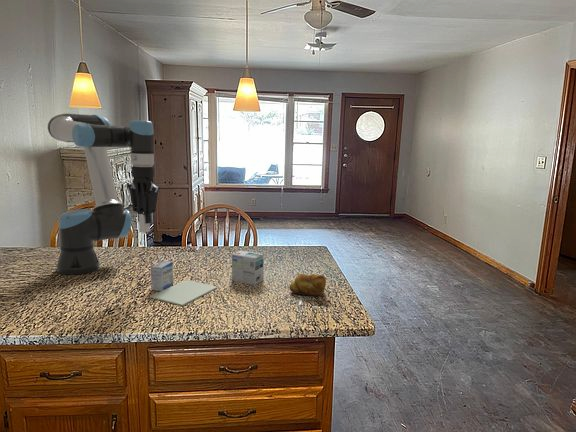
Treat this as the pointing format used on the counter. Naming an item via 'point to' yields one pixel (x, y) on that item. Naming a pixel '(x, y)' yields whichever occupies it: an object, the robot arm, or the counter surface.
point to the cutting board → (183, 292)
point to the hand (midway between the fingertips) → (144, 231)
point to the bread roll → (308, 284)
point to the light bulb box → (247, 267)
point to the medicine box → (161, 275)
